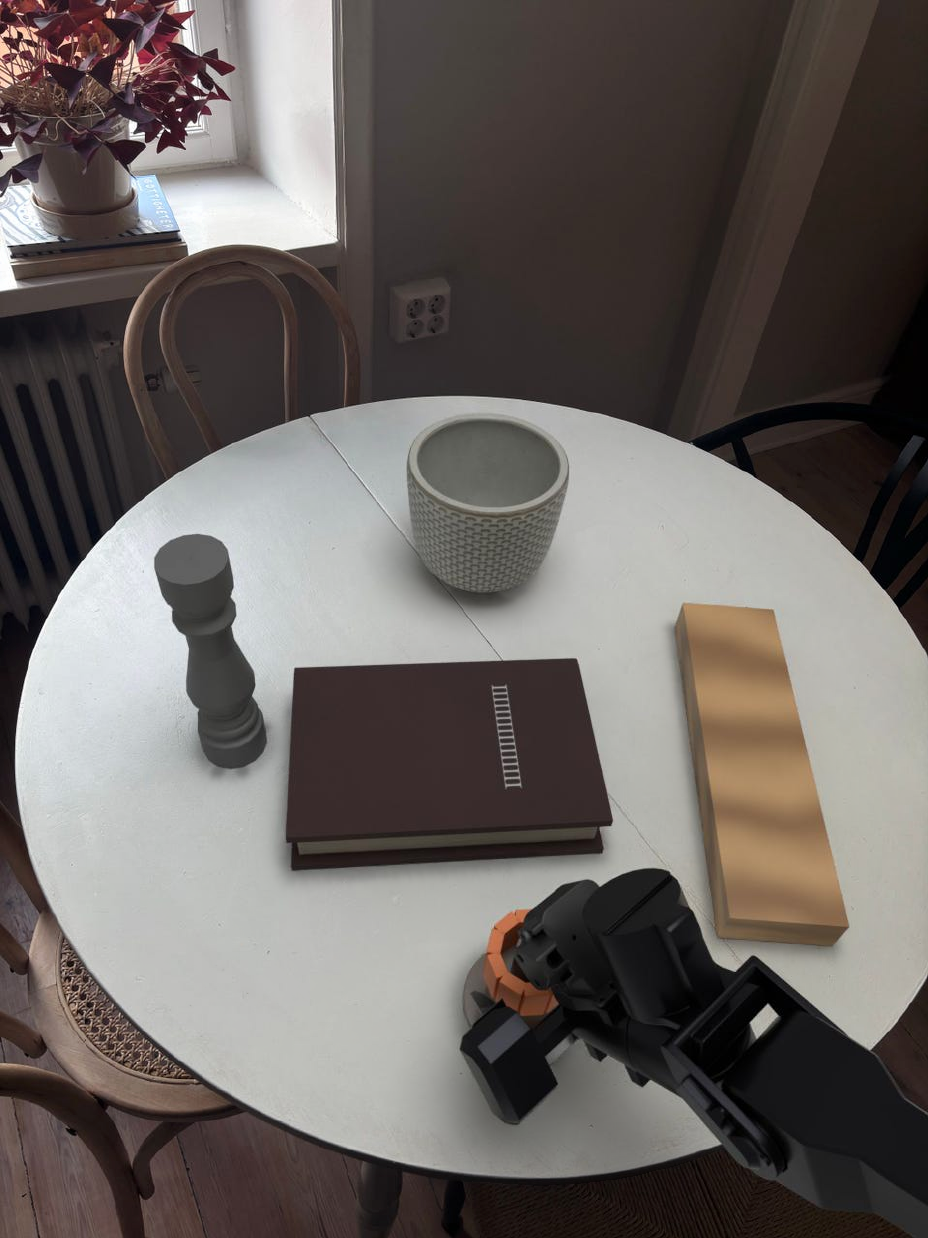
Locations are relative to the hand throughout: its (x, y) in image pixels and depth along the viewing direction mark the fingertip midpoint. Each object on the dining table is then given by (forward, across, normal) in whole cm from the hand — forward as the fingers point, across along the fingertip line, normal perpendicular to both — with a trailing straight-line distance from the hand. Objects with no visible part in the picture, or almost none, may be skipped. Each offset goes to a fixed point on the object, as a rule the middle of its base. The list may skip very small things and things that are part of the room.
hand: (521, 958), depth 68 cm
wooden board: (+7, -33, +4) cm, 34 cm away
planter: (+33, -30, -22) cm, 50 cm away
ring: (0, 0, +1) cm, 1 cm away
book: (+20, -9, -9) cm, 24 cm away
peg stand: (+5, 0, +6) cm, 8 cm away
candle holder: (+31, +5, -19) cm, 36 cm away
